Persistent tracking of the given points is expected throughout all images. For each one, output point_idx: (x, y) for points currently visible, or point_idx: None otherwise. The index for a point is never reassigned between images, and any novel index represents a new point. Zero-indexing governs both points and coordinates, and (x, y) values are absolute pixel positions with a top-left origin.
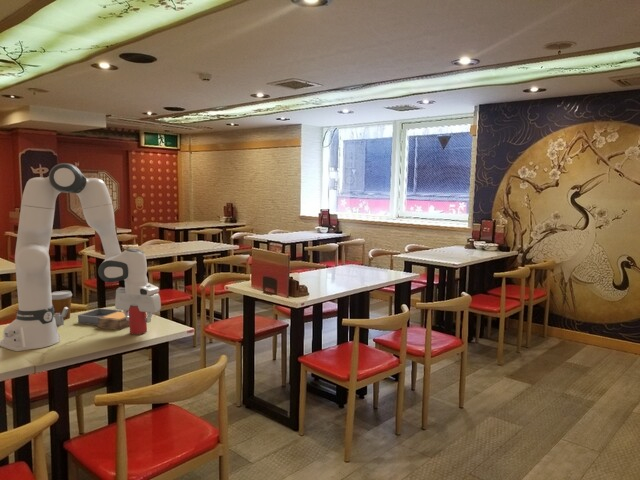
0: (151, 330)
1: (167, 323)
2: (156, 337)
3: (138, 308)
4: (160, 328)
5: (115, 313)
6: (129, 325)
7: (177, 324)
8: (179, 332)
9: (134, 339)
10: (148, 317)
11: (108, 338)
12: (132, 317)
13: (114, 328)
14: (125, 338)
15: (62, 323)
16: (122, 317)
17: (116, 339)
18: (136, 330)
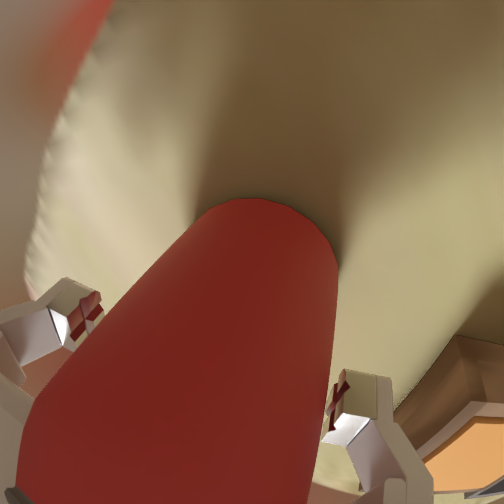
0: None
1: None
2: (61, 160)
3: (20, 452)
4: None
5: (495, 475)
6: (405, 403)
7: None
8: (33, 267)
9: (180, 64)
10: (19, 305)
11: (481, 76)
12: (187, 328)
13: (499, 347)
14: (294, 74)
15: None
16: (455, 447)
17: (378, 35)
18: (217, 213)
